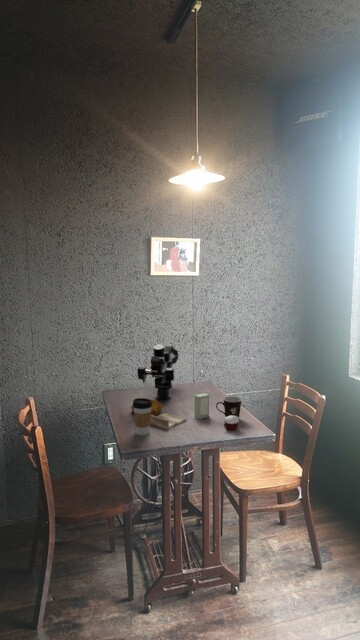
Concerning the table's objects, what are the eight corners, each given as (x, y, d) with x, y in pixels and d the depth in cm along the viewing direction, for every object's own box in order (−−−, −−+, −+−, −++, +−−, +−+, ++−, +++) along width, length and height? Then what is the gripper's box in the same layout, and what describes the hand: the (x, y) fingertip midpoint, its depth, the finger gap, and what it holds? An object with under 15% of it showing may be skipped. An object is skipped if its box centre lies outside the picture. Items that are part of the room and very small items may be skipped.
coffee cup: (133, 429, 190) (132, 397, 188) (152, 429, 191) (151, 396, 189) (132, 436, 182) (132, 403, 180) (152, 436, 183) (152, 402, 181)
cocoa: (224, 433, 187) (224, 407, 185) (220, 427, 193) (219, 402, 191) (244, 430, 189) (244, 404, 187) (240, 424, 195) (239, 400, 193)
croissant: (141, 423, 204) (142, 408, 202) (127, 410, 216) (127, 396, 214) (167, 417, 212) (167, 402, 210) (152, 404, 224) (152, 391, 222)
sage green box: (194, 417, 206) (194, 395, 205) (204, 414, 210) (204, 393, 209) (199, 419, 203) (199, 397, 202) (208, 416, 207) (209, 395, 205)
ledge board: (165, 414, 210) (165, 407, 209) (186, 420, 201) (186, 412, 201) (146, 422, 199) (146, 414, 198) (167, 429, 191) (167, 420, 190)
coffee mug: (242, 417, 206) (243, 397, 205) (239, 423, 198) (239, 402, 197) (219, 414, 210) (219, 395, 208) (215, 420, 202) (215, 400, 200)
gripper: (140, 352, 221) (132, 367, 207) (175, 353, 218) (169, 369, 204) (142, 370, 225) (134, 386, 211) (176, 372, 222) (171, 388, 208)
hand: (152, 382), depth 208 cm, fingers open, 9 cm apart
